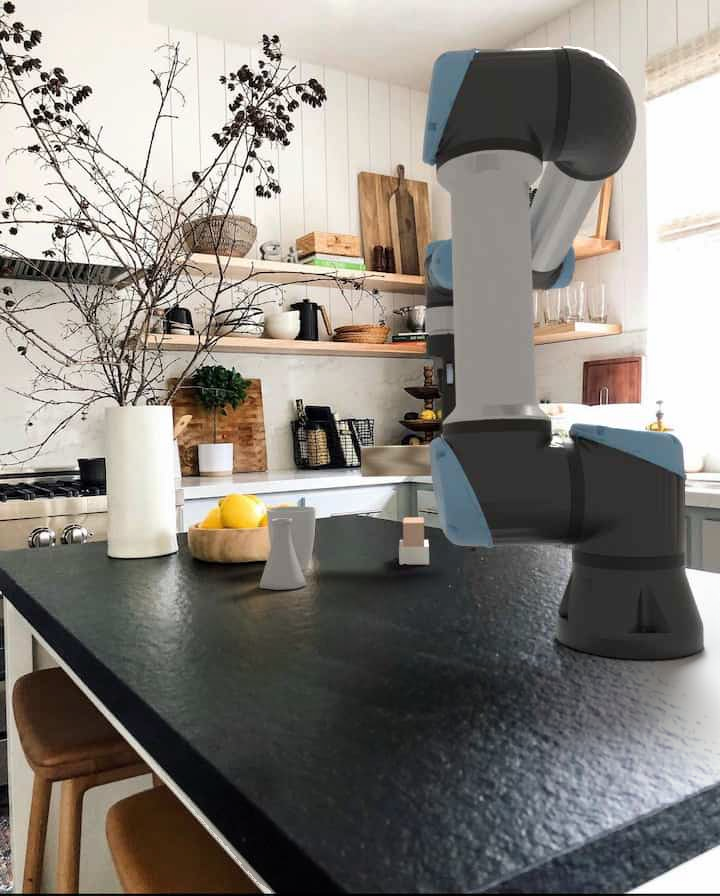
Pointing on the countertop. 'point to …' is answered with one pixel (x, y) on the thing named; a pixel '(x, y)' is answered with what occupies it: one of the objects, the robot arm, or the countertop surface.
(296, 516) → the cup
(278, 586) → the flask
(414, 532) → the block
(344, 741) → the countertop surface
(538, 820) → the countertop surface
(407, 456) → the bar
